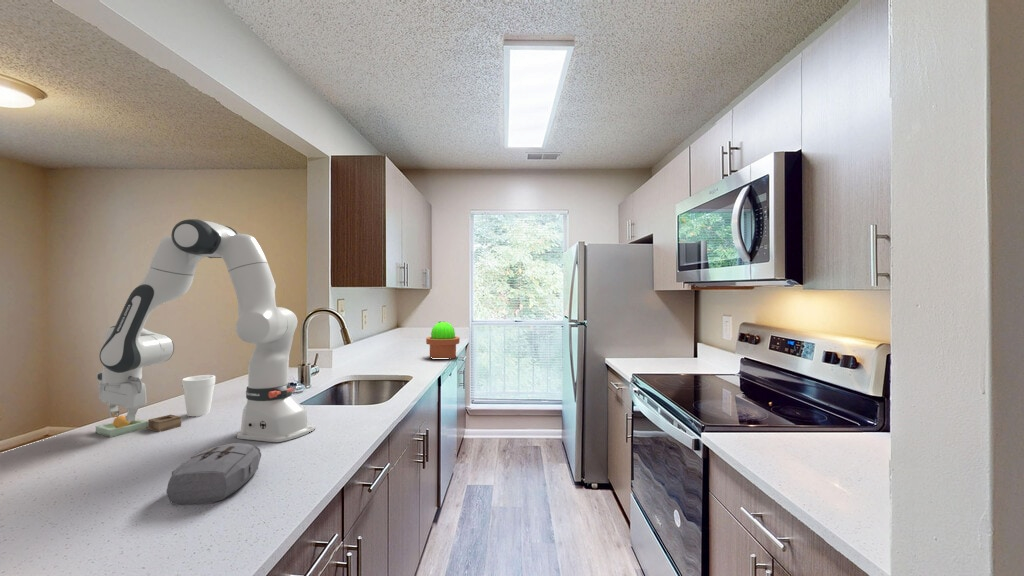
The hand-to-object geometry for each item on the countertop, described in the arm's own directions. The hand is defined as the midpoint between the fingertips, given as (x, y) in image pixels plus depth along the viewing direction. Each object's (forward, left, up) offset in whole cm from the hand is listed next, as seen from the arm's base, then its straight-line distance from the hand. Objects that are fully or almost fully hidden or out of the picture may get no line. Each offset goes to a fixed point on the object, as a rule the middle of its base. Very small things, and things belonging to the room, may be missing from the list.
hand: (122, 418), depth 126 cm
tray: (0, 0, -4) cm, 4 cm away
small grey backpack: (-64, +9, -4) cm, 65 cm away
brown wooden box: (-9, -7, -4) cm, 12 cm away
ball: (0, 0, -1) cm, 1 cm away
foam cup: (-3, -20, -4) cm, 21 cm away
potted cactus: (-14, -161, -4) cm, 161 cm away
